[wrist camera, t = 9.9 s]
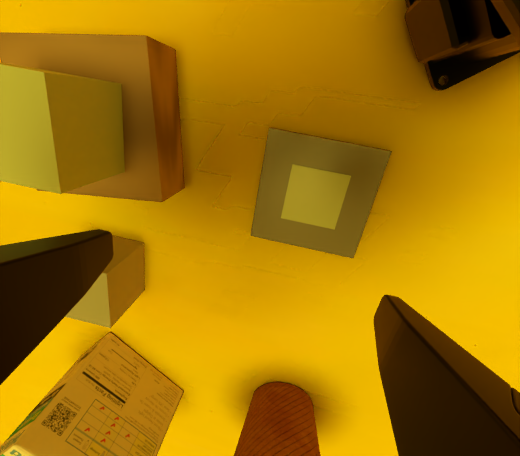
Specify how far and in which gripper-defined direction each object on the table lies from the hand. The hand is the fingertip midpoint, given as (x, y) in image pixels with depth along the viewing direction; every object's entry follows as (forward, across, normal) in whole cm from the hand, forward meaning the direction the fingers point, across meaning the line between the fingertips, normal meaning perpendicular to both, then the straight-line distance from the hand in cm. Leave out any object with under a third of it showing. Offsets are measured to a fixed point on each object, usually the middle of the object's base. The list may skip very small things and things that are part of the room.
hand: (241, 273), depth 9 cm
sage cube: (+8, +12, -2) cm, 15 cm away
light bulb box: (+12, +12, +24) cm, 29 cm away
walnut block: (+12, +12, -2) cm, 17 cm away
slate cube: (+12, +13, +10) cm, 20 cm away
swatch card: (+12, -3, 0) cm, 12 cm away
